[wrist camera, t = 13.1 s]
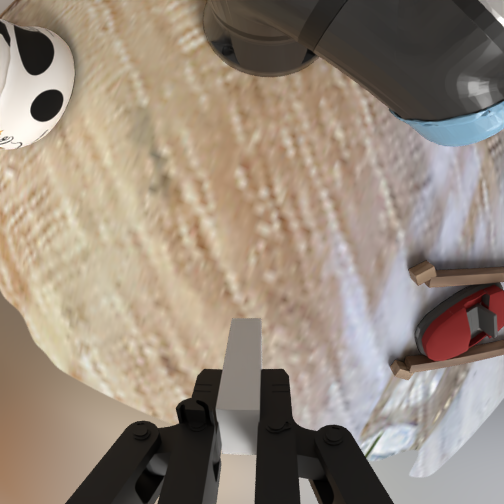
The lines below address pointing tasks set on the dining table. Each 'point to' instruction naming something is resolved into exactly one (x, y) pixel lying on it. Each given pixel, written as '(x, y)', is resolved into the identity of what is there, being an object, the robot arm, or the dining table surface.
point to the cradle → (443, 279)
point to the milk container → (32, 83)
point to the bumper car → (461, 321)
